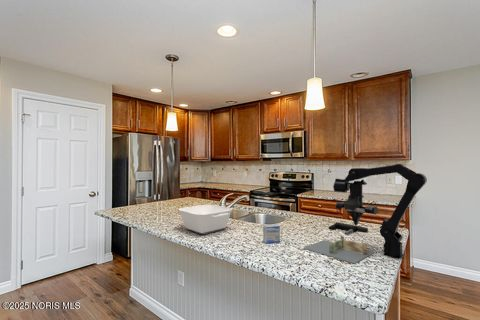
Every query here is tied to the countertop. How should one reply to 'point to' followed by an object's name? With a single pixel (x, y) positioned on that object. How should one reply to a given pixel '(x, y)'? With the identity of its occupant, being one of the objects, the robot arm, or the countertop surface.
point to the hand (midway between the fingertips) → (355, 225)
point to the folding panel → (335, 245)
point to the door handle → (348, 228)
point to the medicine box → (271, 234)
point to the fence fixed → (354, 246)
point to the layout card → (337, 252)
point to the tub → (205, 218)
